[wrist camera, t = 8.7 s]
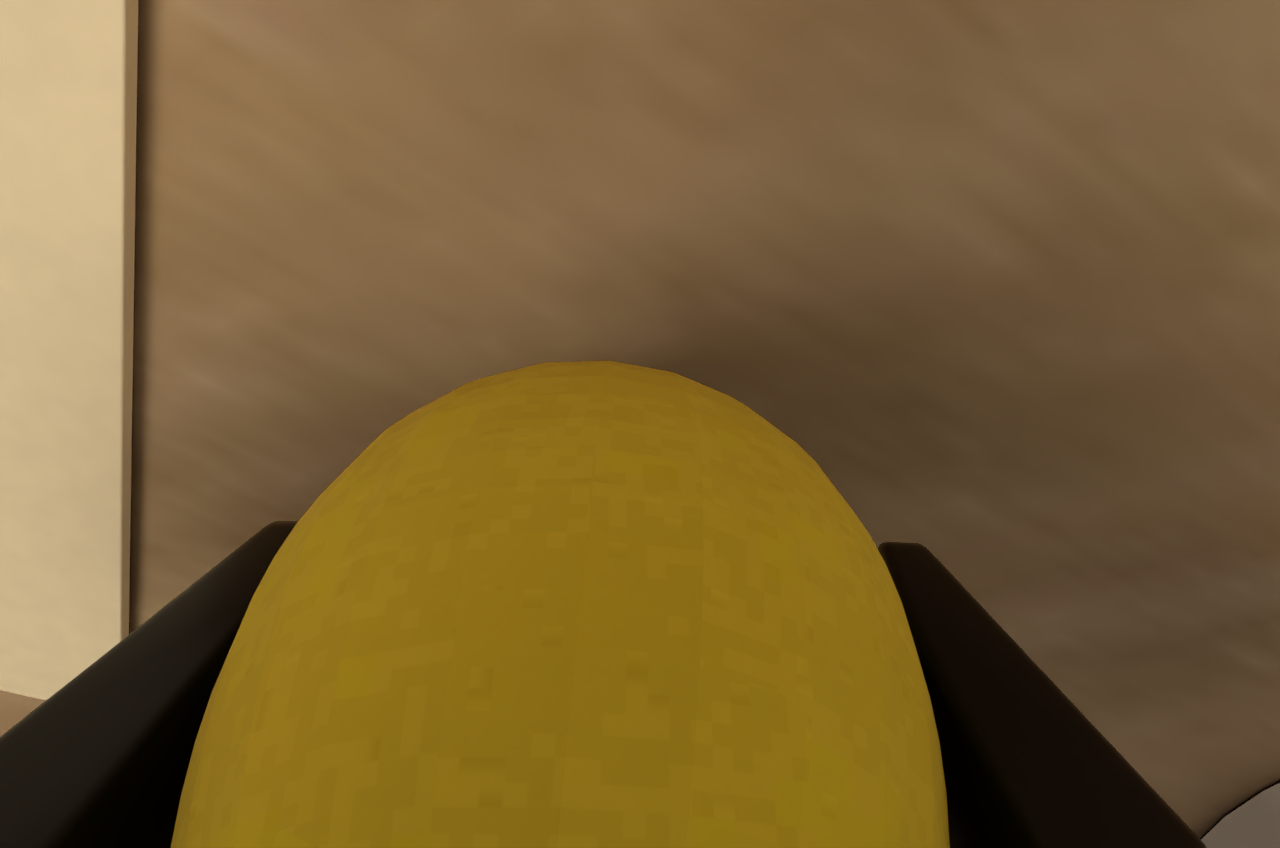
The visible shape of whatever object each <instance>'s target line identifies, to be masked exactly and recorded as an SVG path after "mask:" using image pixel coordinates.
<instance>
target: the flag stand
mask: <svg viewBox="0 0 1280 848" xmlns="http://www.w3.org/2000/svg"><path fill="white" fill-rule="evenodd" d="M1201 841H1202V842H1203V843H1204V844H1205V845H1206V848H1280V783H1278V784H1276V785H1274V786H1272V787H1270V788H1268V789H1266V790H1264V791H1262V792H1261V793H1259V794H1258V795H1256V796H1255V797H1253V798H1252V799H1250V800H1249V801H1247V802H1246V803H1245V804H1243V805H1242V806H1240V807H1239V808H1237V809H1236V810H1234V811H1233V812H1231V813H1230V814H1228V815H1227V816H1225V817H1224V818H1223V819H1222V820H1221V821H1220V822H1219V823H1218V824H1217V825H1216V826H1215V827H1214V828H1213V829H1212V830H1211V831H1209V832H1208V833H1207V834H1206V835H1205V836H1204V837H1203V838H1202V839H1201Z"/></svg>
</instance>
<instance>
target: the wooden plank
mask: <svg viewBox="0 0 1280 848" xmlns="http://www.w3.org/2000/svg"><path fill="white" fill-rule="evenodd" d="M137 61H138V0H0V690H2V691H6V692H11V693H15V694H20V695H24V696H29V697H33V698H38V699H43V700H47V699H49V698H50V697H51V696H52V695H54V694H55V693H56V692H57V691H59V690H60V689H61V688H62V687H64V686H65V685H66V684H68V683H69V682H70V681H71V680H73V679H74V678H75V677H76V676H78V675H79V674H80V673H81V672H83V671H84V670H85V669H86V668H88V667H89V666H90V665H91V664H93V663H94V662H95V661H97V660H98V659H99V658H100V657H102V656H103V655H104V654H105V653H107V652H108V651H109V650H110V649H112V648H113V647H114V646H115V645H117V644H118V643H119V642H120V641H122V640H123V639H124V638H126V637H127V636H128V635H129V588H130V522H131V456H132V390H133V324H134V259H135V193H136V127H137Z"/></svg>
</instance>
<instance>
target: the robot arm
mask: <svg viewBox="0 0 1280 848" xmlns="http://www.w3.org/2000/svg"><path fill="white" fill-rule="evenodd" d="M296 524H297V522H293V521H276V522H273V523H271V524H269V525H267V526H266V527H264V528H263V529H262V530H260V531H259V532H258V533H257V534H255V535H254V536H253V537H252V538H250V539H249V540H248V541H247V542H245V543H244V544H243V545H242V546H240V547H239V548H238V549H236V550H235V551H234V552H233V553H231V554H230V555H229V556H228V557H226V558H225V559H224V560H223V561H221V562H220V563H219V564H218V565H216V566H215V567H214V568H213V569H211V570H210V571H209V572H207V573H206V574H205V575H204V576H202V577H201V578H200V579H199V580H197V581H196V582H195V583H194V584H192V585H191V586H190V587H189V588H187V589H186V590H185V591H184V592H182V593H181V594H180V595H178V596H177V597H176V598H175V599H173V600H172V601H171V602H170V603H168V604H167V605H166V606H165V607H163V608H162V609H161V610H160V611H158V612H157V613H156V614H155V615H153V616H152V617H151V618H149V619H148V620H147V621H146V622H144V623H143V624H142V625H141V626H139V627H138V628H137V629H136V630H134V631H133V632H132V633H131V634H129V635H128V636H127V637H126V638H124V639H123V640H122V641H120V642H119V643H118V644H117V645H115V646H114V647H113V648H112V649H110V650H109V651H108V652H107V653H105V654H104V655H103V656H102V657H100V658H99V659H98V660H97V661H95V662H94V663H93V664H91V665H90V666H89V667H88V668H86V669H85V670H84V671H83V672H81V673H80V674H79V675H78V676H76V677H75V678H74V679H73V680H71V681H70V682H69V683H68V684H66V685H65V686H64V687H62V688H61V689H60V690H59V691H57V692H56V693H55V694H54V695H52V696H51V697H50V698H49V699H47V700H46V701H45V702H44V703H42V704H41V705H40V706H39V707H37V708H36V709H35V710H33V711H32V712H31V713H30V714H28V715H27V716H26V717H25V718H23V719H22V720H21V721H20V722H18V723H17V724H16V725H15V726H13V727H12V728H11V729H10V730H8V731H7V732H6V733H4V734H3V735H2V736H1V737H0V848H171V843H172V838H173V833H174V828H175V822H176V817H177V812H178V807H179V802H180V797H181V793H182V790H183V786H184V782H185V778H186V774H187V770H188V767H189V763H190V759H191V755H192V751H193V747H194V744H195V740H196V737H197V734H198V731H199V728H200V725H201V722H202V719H203V716H204V714H205V711H206V708H207V705H208V702H209V699H210V696H211V693H212V690H213V688H214V686H215V683H216V681H217V679H218V676H219V674H220V672H221V669H222V667H223V665H224V662H225V660H226V657H227V655H228V653H229V650H230V648H231V646H232V643H233V641H234V639H235V636H236V634H237V632H238V630H239V627H240V625H241V623H242V620H243V618H244V616H245V613H246V611H247V609H248V606H249V604H250V602H251V599H252V597H253V595H254V593H255V591H256V590H257V588H258V586H259V584H260V582H261V580H262V578H263V577H264V575H265V573H266V571H267V569H268V567H269V565H270V563H271V562H272V560H273V558H274V556H275V555H276V553H277V552H278V550H279V549H280V547H281V546H282V544H283V543H284V541H285V540H286V538H287V537H288V535H289V534H290V532H291V531H292V529H293V528H294V526H295V525H296ZM878 551H879V553H880V554H881V556H882V558H883V560H884V562H885V564H886V566H887V568H888V570H889V573H890V575H891V577H892V580H893V582H894V585H895V587H896V589H897V592H898V594H899V597H900V599H901V602H902V605H903V608H904V611H905V614H906V618H907V621H908V624H909V627H910V631H911V634H912V637H913V641H914V644H915V647H916V651H917V654H918V658H919V661H920V664H921V668H922V671H923V675H924V678H925V681H926V685H927V688H928V692H929V695H930V699H931V704H932V708H933V713H934V718H935V722H936V727H937V732H938V737H939V741H940V748H941V756H942V763H943V771H944V778H945V786H946V794H947V810H948V826H949V842H950V848H1206V845H1205V844H1204V843H1203V842H1202V841H1201V840H1200V839H1199V838H1198V837H1197V835H1196V834H1195V833H1194V832H1193V831H1192V830H1191V829H1190V828H1189V827H1188V826H1187V825H1186V824H1185V823H1184V822H1183V821H1182V819H1181V818H1180V817H1179V816H1178V815H1177V814H1176V813H1175V812H1174V811H1173V810H1172V809H1171V808H1170V807H1169V806H1168V805H1167V803H1166V802H1165V801H1164V800H1163V799H1162V798H1161V797H1160V796H1159V795H1158V794H1157V793H1156V792H1155V791H1154V790H1153V789H1152V787H1151V786H1150V785H1149V784H1148V783H1147V782H1146V781H1145V780H1144V779H1143V778H1142V777H1141V776H1140V775H1139V774H1138V773H1137V772H1136V770H1135V769H1134V768H1133V767H1132V766H1131V765H1130V764H1129V763H1128V762H1127V761H1126V760H1125V759H1124V758H1123V757H1122V756H1121V754H1120V753H1119V752H1118V751H1117V750H1116V749H1115V748H1114V747H1113V746H1112V745H1111V744H1110V743H1109V742H1108V741H1107V740H1106V738H1105V737H1104V736H1103V735H1102V734H1101V733H1100V732H1099V731H1098V730H1097V729H1096V728H1095V727H1094V726H1093V725H1092V724H1091V722H1090V721H1089V720H1088V719H1087V718H1086V717H1085V716H1084V715H1083V714H1082V713H1081V712H1080V711H1079V710H1078V709H1077V708H1076V706H1075V705H1074V704H1073V703H1072V702H1071V701H1070V700H1069V699H1068V698H1067V697H1066V696H1065V695H1064V694H1063V693H1062V692H1061V690H1060V689H1059V688H1058V687H1057V686H1056V685H1055V684H1054V683H1053V682H1052V681H1051V680H1050V679H1049V678H1048V677H1047V676H1046V674H1045V673H1044V672H1043V671H1042V670H1041V669H1040V668H1039V667H1038V666H1037V665H1036V664H1035V663H1034V662H1033V661H1032V660H1031V658H1030V657H1029V656H1028V655H1027V654H1026V653H1025V652H1024V651H1023V650H1022V649H1021V648H1020V647H1019V646H1018V645H1017V644H1016V642H1015V641H1014V640H1013V639H1012V638H1011V637H1010V636H1009V635H1008V634H1007V633H1006V632H1005V631H1004V630H1003V629H1002V628H1001V626H1000V625H999V624H998V623H997V622H996V621H995V620H994V619H993V618H992V617H991V616H990V615H989V614H988V613H987V612H986V610H985V609H984V608H983V607H982V606H981V605H980V604H979V603H978V602H977V601H976V600H975V599H974V598H973V597H972V596H971V594H970V593H969V592H968V591H967V590H966V589H965V588H964V587H963V586H962V585H961V584H960V583H959V582H958V581H957V580H956V578H955V577H954V576H953V575H952V574H951V573H950V572H949V571H948V570H947V569H946V568H945V567H944V566H943V565H942V564H941V562H940V561H939V560H938V559H937V558H936V557H935V556H934V555H933V554H932V553H931V552H930V551H929V550H928V549H927V548H926V547H924V546H923V545H921V544H918V543H899V542H885V543H882V544H881V545H879V547H878Z"/></svg>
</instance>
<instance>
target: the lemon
mask: <svg viewBox="0 0 1280 848" xmlns="http://www.w3.org/2000/svg"><path fill="white" fill-rule="evenodd" d="M171 848H950V842H949V826H948V810H947V794H946V786H945V778H944V771H943V763H942V756H941V748H940V741H939V737H938V732H937V727H936V722H935V718H934V713H933V708H932V704H931V699H930V695H929V692H928V688H927V685H926V681H925V678H924V675H923V671H922V668H921V664H920V661H919V658H918V654H917V651H916V647H915V644H914V641H913V637H912V634H911V631H910V627H909V624H908V621H907V618H906V614H905V611H904V608H903V605H902V602H901V599H900V597H899V594H898V592H897V589H896V587H895V585H894V582H893V580H892V577H891V575H890V573H889V570H888V568H887V566H886V564H885V562H884V560H883V558H882V556H881V554H880V553H879V551H878V549H877V547H876V545H875V543H874V541H873V540H872V538H871V536H870V534H869V533H868V531H867V530H866V529H865V527H864V526H863V524H862V523H861V521H860V520H859V519H858V517H857V516H856V514H855V513H854V511H853V510H852V509H851V507H850V506H849V505H848V503H847V502H846V501H845V499H844V498H843V497H842V496H841V494H840V493H839V492H838V490H837V489H836V488H835V486H834V485H833V484H832V483H831V481H830V480H829V479H828V477H827V476H826V475H825V473H824V472H823V471H822V469H821V468H820V467H819V466H818V464H817V463H816V462H815V461H814V460H813V459H812V458H811V457H810V456H809V455H808V454H807V453H806V452H805V451H804V450H803V449H802V448H801V447H800V446H799V445H798V444H797V443H796V442H795V441H794V440H792V439H791V438H789V437H788V436H787V435H785V434H784V433H783V432H781V431H780V430H779V429H777V428H776V427H774V426H773V425H772V424H770V423H769V422H768V421H766V420H765V419H764V418H762V417H761V416H760V415H758V414H757V413H755V412H754V411H753V410H751V409H750V408H749V407H747V406H746V405H744V404H743V403H741V402H739V401H738V400H736V399H734V398H732V397H731V396H728V395H726V394H724V393H721V392H719V391H717V390H714V389H712V388H709V387H707V386H705V385H702V384H700V383H698V382H695V381H693V380H691V379H688V378H686V377H683V376H681V375H679V374H676V373H674V372H669V371H663V370H658V369H652V368H647V367H641V366H636V365H630V364H625V363H619V362H614V361H580V362H547V363H540V364H536V365H532V366H528V367H524V368H520V369H516V370H512V371H508V372H504V373H500V374H496V375H492V376H488V377H484V378H481V379H478V380H475V381H472V382H469V383H467V384H464V385H462V386H460V387H459V388H457V389H455V390H453V391H451V392H449V393H447V394H446V395H444V396H442V397H440V398H438V399H436V400H434V401H432V402H431V403H429V404H427V405H425V406H423V407H421V408H419V409H418V410H416V411H414V412H412V413H410V414H408V415H407V416H405V417H404V418H402V419H401V420H399V421H398V422H396V423H395V424H393V425H392V426H390V427H389V428H387V429H386V430H385V431H384V432H383V433H382V434H381V435H380V436H379V437H378V438H377V439H376V440H375V441H374V442H372V443H371V444H370V445H369V446H368V447H367V448H366V449H365V450H364V451H363V452H362V453H361V454H360V455H359V456H358V457H357V458H356V459H355V460H354V461H353V462H352V463H351V464H350V465H349V466H348V467H347V468H346V469H345V470H344V471H343V472H342V473H341V474H340V475H339V476H338V477H337V478H336V479H335V480H334V481H333V482H332V483H331V484H330V485H329V486H328V487H327V488H326V489H325V490H324V491H323V492H322V494H321V495H320V496H319V497H318V498H317V499H316V500H315V502H314V503H313V504H312V505H311V507H310V508H309V509H308V510H307V511H306V513H305V514H304V515H303V516H302V517H301V519H300V520H299V521H298V522H297V524H296V525H295V526H294V528H293V529H292V531H291V532H290V534H289V535H288V537H287V538H286V540H285V541H284V543H283V544H282V546H281V547H280V549H279V550H278V552H277V553H276V555H275V556H274V558H273V560H272V562H271V563H270V565H269V567H268V569H267V571H266V573H265V575H264V577H263V578H262V580H261V582H260V584H259V586H258V588H257V590H256V591H255V593H254V595H253V597H252V599H251V602H250V604H249V606H248V609H247V611H246V613H245V616H244V618H243V620H242V623H241V625H240V627H239V630H238V632H237V634H236V636H235V639H234V641H233V643H232V646H231V648H230V650H229V653H228V655H227V657H226V660H225V662H224V665H223V667H222V669H221V672H220V674H219V676H218V679H217V681H216V683H215V686H214V688H213V690H212V693H211V696H210V699H209V702H208V705H207V708H206V711H205V714H204V716H203V719H202V722H201V725H200V728H199V731H198V734H197V737H196V740H195V744H194V747H193V751H192V755H191V759H190V763H189V767H188V770H187V774H186V778H185V782H184V786H183V790H182V793H181V797H180V802H179V807H178V812H177V817H176V822H175V828H174V833H173V838H172V843H171Z"/></svg>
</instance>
